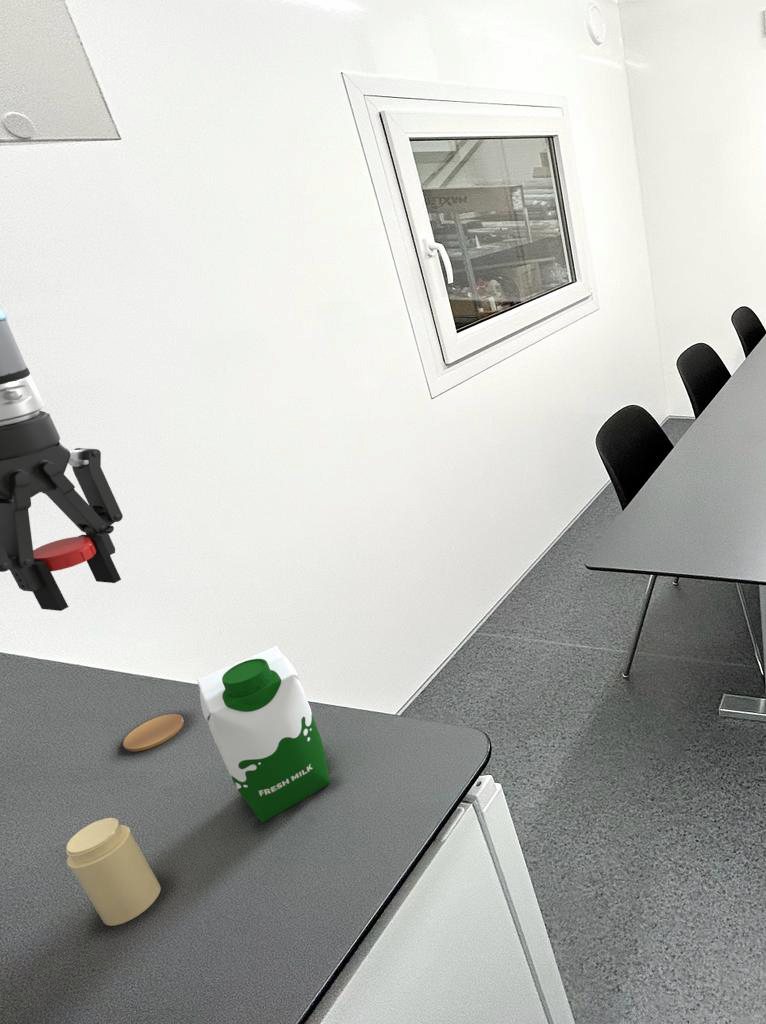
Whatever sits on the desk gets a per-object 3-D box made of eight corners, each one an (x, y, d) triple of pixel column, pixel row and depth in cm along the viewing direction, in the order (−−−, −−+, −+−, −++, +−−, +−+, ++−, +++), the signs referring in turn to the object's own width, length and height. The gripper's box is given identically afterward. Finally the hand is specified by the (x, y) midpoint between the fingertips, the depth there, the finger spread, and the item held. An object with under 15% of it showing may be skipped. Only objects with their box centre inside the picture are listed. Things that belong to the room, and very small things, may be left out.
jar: (89, 927, 64) (45, 857, 60) (130, 882, 68) (91, 815, 65) (134, 924, 65) (93, 855, 61) (172, 880, 69) (136, 812, 65)
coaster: (111, 752, 84) (109, 750, 84) (151, 717, 89) (150, 714, 89) (158, 750, 84) (156, 748, 84) (195, 715, 90) (194, 713, 90)
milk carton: (255, 833, 74) (197, 704, 66) (237, 789, 79) (182, 665, 72) (341, 782, 80) (297, 659, 73) (319, 744, 85) (276, 626, 78)
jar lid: (105, 553, 77) (99, 540, 76) (50, 575, 72) (44, 561, 72) (81, 546, 78) (74, 533, 77) (25, 567, 74) (18, 554, 73)
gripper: (-94, 452, 60) (15, 646, 68) (118, 394, 77) (184, 556, 85) (-157, 448, 61) (-42, 640, 69) (66, 392, 77) (136, 552, 86)
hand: (82, 593), depth 77 cm, fingers closed on jar lid, 5 cm apart
